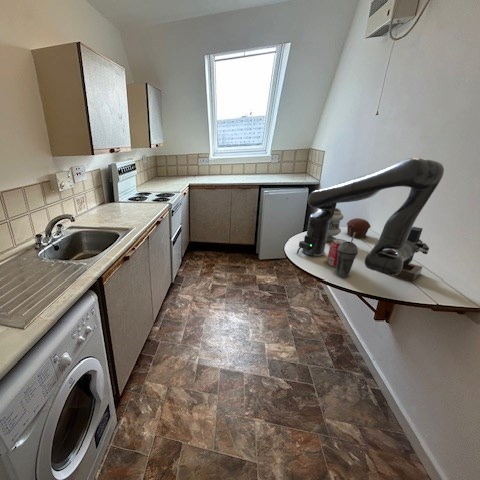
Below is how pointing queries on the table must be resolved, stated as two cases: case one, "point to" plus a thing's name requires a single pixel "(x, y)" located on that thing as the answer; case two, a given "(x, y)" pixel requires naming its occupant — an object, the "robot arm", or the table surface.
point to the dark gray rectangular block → (413, 239)
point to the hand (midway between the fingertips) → (413, 240)
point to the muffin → (357, 227)
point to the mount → (409, 271)
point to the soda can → (334, 252)
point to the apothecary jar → (334, 225)
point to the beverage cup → (346, 257)
